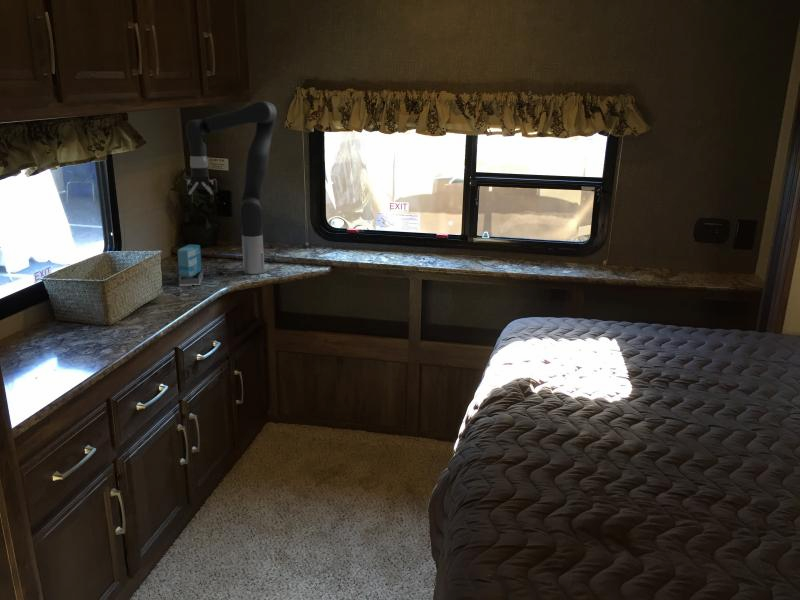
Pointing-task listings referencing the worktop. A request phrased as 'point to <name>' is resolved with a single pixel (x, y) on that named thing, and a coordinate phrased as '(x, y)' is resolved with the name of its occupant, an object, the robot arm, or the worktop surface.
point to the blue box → (189, 260)
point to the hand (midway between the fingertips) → (201, 202)
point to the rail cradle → (191, 279)
